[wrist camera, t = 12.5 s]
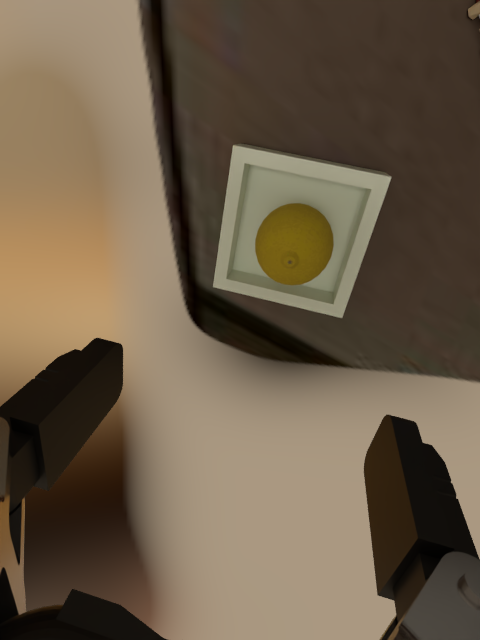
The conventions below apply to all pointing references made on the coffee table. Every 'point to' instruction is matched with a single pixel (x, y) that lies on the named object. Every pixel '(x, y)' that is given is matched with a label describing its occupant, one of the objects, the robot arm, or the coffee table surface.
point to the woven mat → (474, 10)
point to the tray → (306, 188)
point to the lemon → (294, 244)
